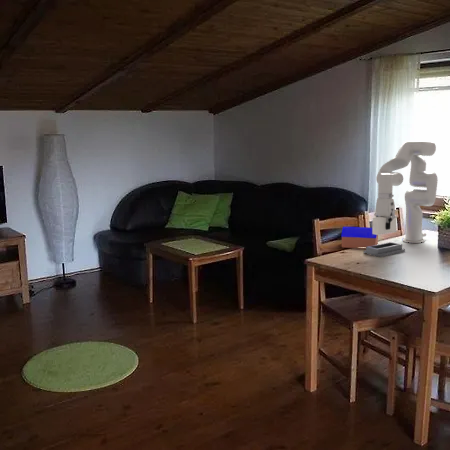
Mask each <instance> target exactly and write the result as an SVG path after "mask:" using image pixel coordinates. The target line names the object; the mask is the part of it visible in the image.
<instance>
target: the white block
mask: <svg viewBox="0 0 450 450" xmlns="http://www.w3.org/2000/svg"><path fill="white" fill-rule="evenodd" d="M391 217H392V216H391ZM395 217H396V218H395V219H393V220H392V222H390V229H388V230H386V222H387V221H386V217H383V216H382V217H375V216H374V217H372V222H371V223H372V225H371V228H372V234H375V235H378V236H381V235H386V234H391V233H397V223H398V222H397V217H398V216H397V215H395ZM388 219H389V218H388Z"/></svg>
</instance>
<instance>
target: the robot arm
mask: <svg viewBox="0 0 450 450" xmlns="http://www.w3.org/2000/svg"><path fill="white" fill-rule="evenodd" d="M436 150H437V146H436V143H435V141H432V140H424V139H423V140H422V139H420V140H419V139H418V140H417V139H415V140H405V141H403V142H402V144H401V145H400V147H399V149H398V151H397V152H396V155H395V156H394V157H393V158H392V159H389V160H388V161H386V162H384V164H382V166H381V167H380V169H379V170H378V172H377V175H376V183H377V184H378V186H377V188H378V189H377V199H376V203H375V212H374V215H373V216H374V218H375V217H382V216H383V217H386V221H387V222H386V230H388V229H390V222H392V220H393V219H395V218H396V217H395V216H396V207H395V206H396V205H395V199H394V195H395V194H393V188H394V187H398V186H400V185H402V184H403V182H404V176H403V174H402V173H401V172H396V171H397V170H401V169H404V168H406V167H408V166H409V164H410V172H409V180H408V181H409V185H410V187H413V188H412V189H408V190H406V192H404V204H405V235H404V237H403V238H402V242H404V243H408V242H409V244H410V243H411V244H420V243H421V242H422V243H425V238H424V237H426V236H427V233H423V214H424V213H423V209H422V208H421V206H422V207H432V206H433V205H434V204H435V202H436V198H437V188H438V180H439V179H438V175H437V173H435V172H434V171H427V170H426V169H427V161H426V160H425V158H424V157H425V156H426V157H428V156H429V157H431V156H434V154H435V153H436ZM414 188H415V189H414ZM416 188H417V189H416ZM418 188H425V189H418ZM391 216H392V217H391ZM388 218H389V219H388Z"/></svg>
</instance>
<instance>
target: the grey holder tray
mask: <svg viewBox="0 0 450 450" xmlns="http://www.w3.org/2000/svg"><path fill="white" fill-rule="evenodd" d="M405 252H406V250H405V248H403V244H402V243H397V242H392V241H389V242H384V243H378V245H373V246H368V247H366V249H364V250H363V254H364V253H367V254H366V255H368V254H371V255H370V256H373V255H375V256H374V257H378V256H379V257H378V258H382V257H383V258H384V257H388V256H391V254H392V255H396V253H397V254H400V253H401V254H402V253H405ZM387 255H388V256H387Z"/></svg>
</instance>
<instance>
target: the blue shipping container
mask: <svg viewBox="0 0 450 450" xmlns="http://www.w3.org/2000/svg"><path fill="white" fill-rule="evenodd" d="M340 237H341V248H349V249H357V248H356V247H368V246H373V245H377V244H379V235H375V234H372V227H366V226H363V227H362V226H343V227H342V229H341V234H340Z"/></svg>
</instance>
